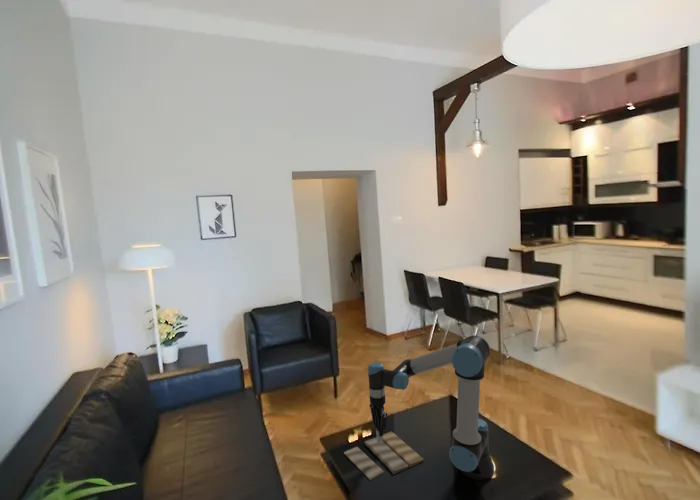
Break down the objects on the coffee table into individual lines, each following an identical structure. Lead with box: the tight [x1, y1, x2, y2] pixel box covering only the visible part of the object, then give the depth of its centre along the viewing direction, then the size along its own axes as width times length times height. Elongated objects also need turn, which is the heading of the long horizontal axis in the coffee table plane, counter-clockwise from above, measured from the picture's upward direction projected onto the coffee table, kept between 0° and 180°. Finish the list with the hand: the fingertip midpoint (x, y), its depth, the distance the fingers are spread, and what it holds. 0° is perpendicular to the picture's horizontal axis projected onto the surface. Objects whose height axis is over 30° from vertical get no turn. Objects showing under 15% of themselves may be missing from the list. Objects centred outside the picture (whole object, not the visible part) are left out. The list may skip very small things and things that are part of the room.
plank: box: [343, 446, 385, 481], centre depth 182 cm, size 24×8×1 cm, turn 31°
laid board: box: [383, 431, 425, 468], centre depth 190 cm, size 28×8×1 cm, turn 27°
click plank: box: [364, 436, 409, 475], centre depth 186 cm, size 28×8×1 cm, turn 27°
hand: (380, 441), depth 183 cm, fingers closed
